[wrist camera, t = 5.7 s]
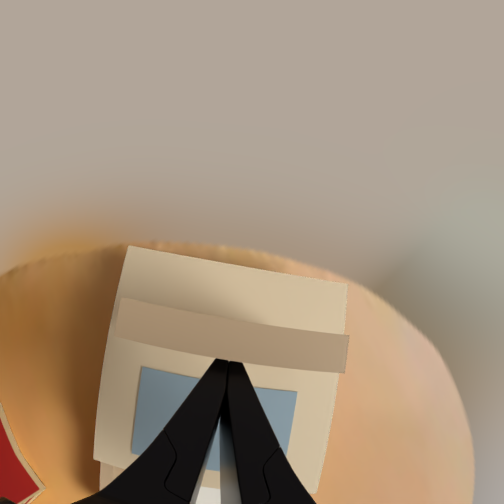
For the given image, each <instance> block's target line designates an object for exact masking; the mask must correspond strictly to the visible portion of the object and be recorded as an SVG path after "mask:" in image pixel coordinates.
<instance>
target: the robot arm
mask: <svg viewBox="0 0 504 504" xmlns="http://www.w3.org/2000/svg"><path fill="white" fill-rule="evenodd" d="M219 419H220V422H219ZM218 424H219V447H220V496H221V504H316V503H315V501H314V500H313V498H312V497H311V496H310V494H309V493H308V491H307V490H306V489H305V487H304V486H303V484H302V483H301V481H300V480H299V478H298V477H297V475H296V474H295V472H294V471H293V469H292V467H291V465H290V463H289V461H288V460H287V458H286V456H285V454H284V452H283V450H282V448H281V447H280V444H279V442H278V439H277V437H276V435H275V433H274V431H273V429H272V427H271V425H270V422H269V420H268V418H267V416H266V414H265V412H264V409H263V407H262V405H261V403H260V401H259V398H258V396H257V394H256V392H255V389H254V387H253V385H252V383H251V380H250V378H249V376H248V374H247V371H246V369H245V367H244V364H243V363H242V362H236V361H228V360H224V359H218V358H216V359H215V360H214V361H213V362H212V364H211V365H210V366H209V368H208V369H207V370H206V372H205V373H204V375H203V376H202V377H201V379H200V380H199V381H198V383H197V384H196V385H195V387H194V388H193V389H192V391H191V392H190V393H189V395H188V396H187V398H186V399H185V400H184V402H183V403H182V404H181V406H180V407H179V408H178V409H177V411H176V412H175V413H174V415H173V416H172V417H171V419H170V420H169V421H168V423H167V424H166V425H165V427H164V428H163V430H161V432H160V433H159V434H158V436H157V437H156V438H155V439H154V440H153V442H152V443H151V444H150V445H149V446H148V448H147V449H146V450H145V451H144V452H143V453H142V454H141V455H140V456H139V457H138V458H137V459H136V460H135V461H134V462H133V463H132V464H131V465H130V466H128V467H127V468H126V469H125V470H124V471H123V472H122V473H121V474H120V475H119V476H117V477H116V478H115V479H114V480H113V481H112V482H111V483H109V484H108V485H107V486H106V487H104V488H103V489H102V490H100V491H99V492H97V493H95V494H93V495H91V496H89V497H87V498H84V499H82V500H79V501H77V502H74V503H71V504H196V500H197V497H198V493H199V490H200V487H201V483H202V480H203V476H204V473H205V470H206V466H207V463H208V459H209V456H210V452H211V449H212V445H213V442H214V438H215V435H216V431H217V428H218ZM0 504H16V503H15V502H13V501H11V500H9V499H8V498H6V497H0Z"/></svg>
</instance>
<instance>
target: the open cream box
mask: <svg viewBox="0 0 504 504" xmlns="http://www.w3.org/2000/svg"><path fill="white" fill-rule="evenodd" d="M347 293H348V284H345V283H339V282H333V281H327V280H321V279H315V278H309V277H303V276H297V275H291V274H285V273H279V272H273V271H268V270H262V269H256V268H250V267H245V266H239V265H233V264H228V263H222V262H217V261H211V260H205V259H200V258H194V257H189V256H184V255H178V254H173V253H167V252H162V251H157V250H151V249H146V248H141V247H135V246H130V245H129V246H128V249H127V253H126V257H125V261H124V265H123V269H122V273H121V277H120V281H119V285H118V289H117V294H116V298H115V303H114V307H113V312H112V317H111V322H110V327H109V332H108V338H107V343H106V349H105V355H104V361H103V368H102V374H101V382H100V389H99V397H98V406H97V415H96V426H95V438H94V454H93V459H94V460H97V461H100V462H103V463H106V464H109V465H112V466H116V467H119V468H122V469H126V468H127V467H128V466H130V465H131V464H132V463H133V462H134V461H135V460H136V459H137V458H138V457H139V456H140V455H141V454H142V453H143V452H144V451H145V450H146V449H147V448H148V446H149V445H150V444H151V443H152V442H153V440H154V439H155V438H156V437H157V436H158V434H159V433H160V432H161V430H163V428H164V427H165V425H166V424H167V423H168V421H169V420H170V419H171V417H172V416H173V415H174V413H175V412H176V411H177V409H178V408H179V407H180V406H181V404H182V403H183V402H184V400H185V399H186V398H187V396H188V395H189V393H190V392H191V391H192V389H193V388H194V387H195V385H196V384H197V383H198V381H199V380H200V379H201V377H202V376H203V375H204V373H205V372H206V370H207V369H208V368H209V366H210V365H211V364H212V362H213V361H214V360H215V359H216V358H218V359H224V360H228V361H236V362H242V363H243V364H244V367H245V369H246V371H247V374H248V376H249V378H250V380H251V383H252V385H253V387H254V389H255V392H256V394H257V396H258V398H259V401H260V403H261V405H262V407H263V409H264V412H265V414H266V416H267V418H268V420H269V422H270V425H271V427H272V429H273V431H274V433H275V435H276V437H277V439H278V442H279V444H280V447H281V448H282V450H283V452H284V454H285V456H286V458H287V460H288V461H289V463H290V465H291V467H292V469H293V471H294V472H295V474H296V475H297V477H298V478H299V480H300V481H301V483H302V484H303V486H304V487H305V489H306V490H307V491H308V493H309V494H315V493H317V489H318V484H319V480H320V476H321V471H322V467H323V462H324V458H325V453H326V448H327V443H328V438H329V433H330V427H331V422H332V416H333V410H334V404H335V398H336V391H337V384H338V377H339V373H345V368H346V360H347V351H348V343H349V335H344V327H345V317H346V306H347ZM219 422H220V419H219ZM201 486H202V487H208V488H216V489H220V447H219V424H218V428H217V431H216V435H215V438H214V442H213V445H212V449H211V452H210V456H209V459H208V463H207V466H206V470H205V473H204V476H203V480H202V483H201Z"/></svg>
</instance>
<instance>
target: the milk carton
mask: <svg viewBox="0 0 504 504" xmlns="http://www.w3.org/2000/svg"><path fill="white" fill-rule="evenodd" d="M45 489H46V488H45V486H44V485H43V484H42V482H41V481H40V480H39V478H38V477H37V476H36V474H35V473H34V471H33V470H32V469H31V467H30V466H29V464H28V463H27V461H26V460H25V458H24V457H23V455H22V454H21V452H20V449H19V447H18V445H17V443H16V440H15V438H14V436H13V433H12V431H11V428H10V426H9V423H8V421H7V418H6V415H5V413H4V410H3V407H2V404H1V402H0V497H6V498H8V499H9V500H11V501H13V502H15V503H16V504H30V503H31V502H32V501H33V500H34V499H35V498H36V497H37V496H38V495H39V494H40V493H41V492H42V491H44V490H45Z"/></svg>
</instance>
